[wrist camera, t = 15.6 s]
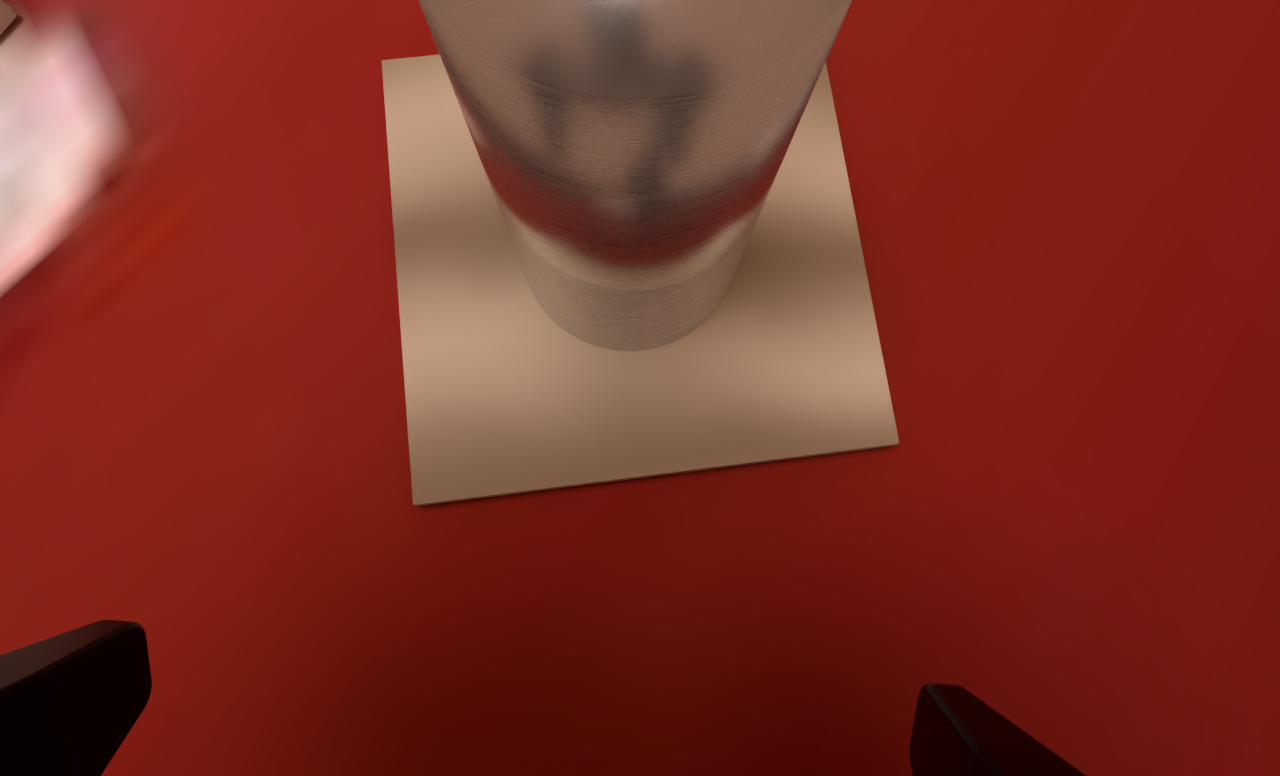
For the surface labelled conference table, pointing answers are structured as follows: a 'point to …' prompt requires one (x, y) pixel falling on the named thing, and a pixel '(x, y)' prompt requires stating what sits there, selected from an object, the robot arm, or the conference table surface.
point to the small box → (6, 15)
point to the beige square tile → (613, 379)
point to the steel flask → (632, 143)
